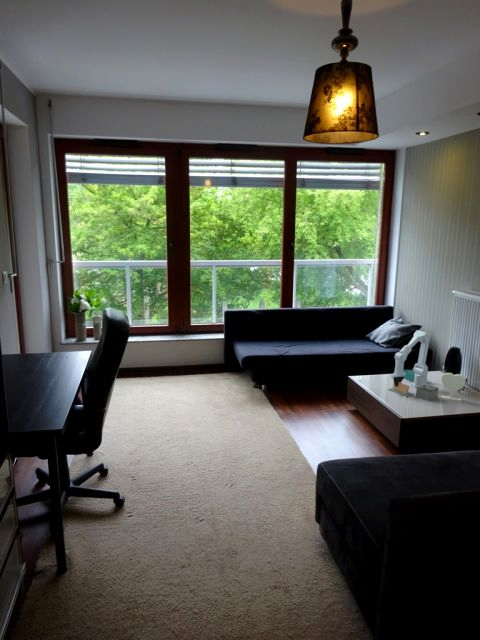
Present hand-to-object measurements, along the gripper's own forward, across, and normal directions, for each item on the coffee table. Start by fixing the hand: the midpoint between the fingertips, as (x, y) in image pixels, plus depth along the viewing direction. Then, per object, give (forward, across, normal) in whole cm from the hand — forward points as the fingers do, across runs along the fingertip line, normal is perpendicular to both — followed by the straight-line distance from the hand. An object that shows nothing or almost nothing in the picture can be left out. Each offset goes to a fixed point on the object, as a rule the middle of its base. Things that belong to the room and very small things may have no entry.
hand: (397, 386), depth 337 cm
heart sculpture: (+4, -24, +29) cm, 38 cm away
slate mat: (+4, 0, +4) cm, 5 cm away
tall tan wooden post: (+3, 0, +3) cm, 4 cm away
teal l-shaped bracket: (+4, -36, -12) cm, 38 cm away
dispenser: (+4, -9, +19) cm, 21 cm away
